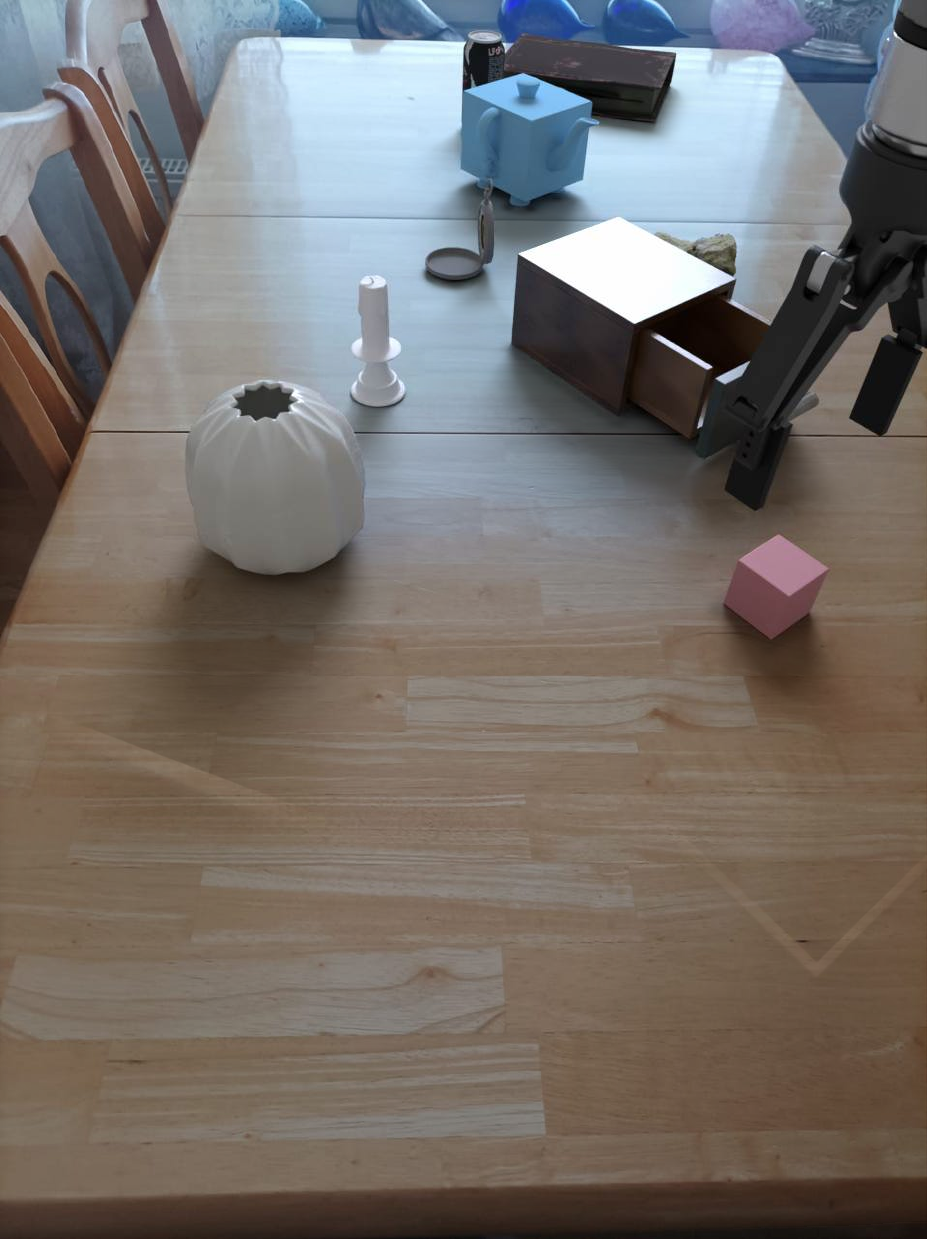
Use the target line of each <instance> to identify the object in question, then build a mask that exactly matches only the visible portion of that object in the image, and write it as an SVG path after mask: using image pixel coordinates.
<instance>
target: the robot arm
mask: <svg viewBox="0 0 927 1239" xmlns="http://www.w3.org/2000/svg"><path fill="white" fill-rule="evenodd" d="M880 54H881V56H882V57H881V61H880V64H879V68H878V71H877V74H876V76H875V79H874V82H873V85H872V89H871V92H870V94H869V98H868V100H867V103H866V106H865V112H866V115H867V117H868V118H869V119H868V120H866V121H865V122H864V123H863V124H861V125H860V126H859V127H858V128H857V130H856V134H855V137H854V140H853V143H852V145H851V149H850V152H849V154H848V157H847V159H846V160H847V161H846V163H845V166H844V170H843V173H842V175H841V179H840V183H839V186H838V192H839V193H838V194H839V198H840V200H841V202H842V204H843V205H844V206H845V207H846V209H847V211H848V213H849V216H850V220H851V221H850V222H851V223H850V225H849V226H848V229H847V230H846V233H845V234H844V236H843V238H842V239H841V241H840V243H839V244H838V246H837V248H836V250H832V251H828V250H826V249H824V248H822V247H820V246H818V245H816V244H814V245H811V246H810V247H809V248H807V250H806V251H805V253H804V255H803V257H802V259H801V262H800V264H799V267H798V270H797V272H796V275H795V278H794V280H793V282H792V286H791V288H790V290H789V291H788V293H787V295H786V297H785V298H784V300H783V302H782V304H781V305H780V307H779V309H778V311H777V313H776V315H775V316H774V318H773V320H771V321H772V323H771V325H770V327H769V329H768V330H767V332H766V334H765V336H764V337H763V339H762V341H761V343H760V344H759V346H758V348H757V350H756V351H755V353H754V355H753V357H752V358H751V360H750V362H749V364H748V366H747V367H746V369H745V371H744V373H743V374H742V376H741V378H740V380H739V381H738V383H737V385H736V387H735V388H734V390H733V392H732V394H731V395H730V397H729V399H728V401H727V403H726V405H725V412H727V413H728V414H730V415H732V416H733V417H734V418H736V419H738V420H739V421H741V422H742V423H744V426H743V429H742V432H741V436H740V439H739V440H738V441H737V446H736V449H735V452H734V454H733V458H732V462H731V464H730V468H729V472H728V475H727V477H726V478H727V479H726V481H725V483H724V488H723V491H725V492H726V493H728V495H731V497H733V498H734V499H736V500H737V501H739V502H740V503H742V504H744V505H745V506H746V507H748V508H749V509H751V510H752V511H754V512H758V511H760V510H761V509H763V508H764V506H765V503H766V500H767V499H768V495H769V492H770V489H771V487H772V484H773V481H774V478H775V476H776V473H777V470H778V467H779V465H780V462H781V459H782V457H783V456H782V455H783V454H784V450H785V448H786V445H787V443H788V440H789V436H790V434H791V431H792V429H793V426H794V425H793V424H794V423H792V422H791V421H789V422H788V421H787V419H788V417H789V416H790V415H791V413H792V412H793V410H794V409H795V408H796V406H797V405H798V404H799V402H800V401H801V400H802V398H803V397H804V396H805V394H807V393H808V392H809V390H810V389H811V387H813V385H814V384H815V382H816V381H817V379H818V378H819V377H820V375H822V373H823V371H824V370H825V369H826V367H827V366H828V364H829V363H830V362H831V360H832V359H833V358H834V356H835V355H836V353H838V351H839V350H840V348H841V347H842V345H843V344H844V343H845V342H846V340H847V339H848V338H849V336H850V335H851V334H852V333H854V332H861V331H862V330H864V329H865V328H866V326H868V324H869V323H870V321H871V320H872V319H873V317H874V316H875V315H876V314H877V312H878V311H879V310H880V308H882V307H883V306H884V305H886V304H887V308H888V314H889V319H890V325H891V329H892V333H894V334H896V337H895V336H893V335H891V334H886V335H884V336H882V337H880V338H881V339H880V341H879V343H878V346H877V347H876V351H875V353H874V355H873V358H872V360H871V363H870V365H869V367H868V370H867V372H866V375H865V376H864V380H863V382H862V384H861V387H860V390H859V391H858V394H857V397H856V399H855V402H854V404H853V407H852V409H851V411H850V414H849V416H848V419H849V420H851V421H853V422H854V423H856V424H858V425H860V426H861V427H863V428H864V429H866V430H868V431H869V432H872V433H873V434H875V435H877V436H878V437H880V438H881V437H882V436H884V435H886V434H888V431H889V429H890V426H891V424H892V423H893V420H894V417H895V415H896V413H897V411H898V409H899V406H900V404H901V402H902V400H903V398H904V395H905V394H906V391H907V389H908V387H909V384H910V382H911V380H912V378H913V376H914V373H915V372H916V369H917V368H918V367H917V366H918V365H919V362H920V361H921V358H922V356H923V354H924V351H922V349H923V348H924V349H925V350H927V0H900V4H899V6H898V8H897V11H896V15H895V18H894V21H893V26H892V29H891V32H890V34H889V37H888V38H887V39H885V41H884V42H883V43H882V46H881V49H880ZM841 301H842V302H844V303H846V304H847V305H845V304H843V303H842V302H841ZM848 305H850V306H852V307H854V308H851V307H849V306H848Z"/></svg>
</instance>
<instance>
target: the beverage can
mask: <svg viewBox="0 0 927 1239" xmlns="http://www.w3.org/2000/svg"><path fill="white" fill-rule="evenodd" d="M467 37H468V38H467V39H466V40H467V41H466V42H465V44H464V46H463V50H462V53H463V54H462V83H461V84H462V86H461V99H462V98H463V91H464V90H468V89H471V88H475V87H478V86H481V85H485V84H488V83H491V82H495V81H498V80H502V79H504V62H505V53H506V48H505V45H504V44H503V40H502V35H501V34H500V33H499V32H496V31H493V30H485V29H484V30H483V29H479V30H474V31H471V32H469V33H468V35H467ZM461 123H462V119H461Z"/></svg>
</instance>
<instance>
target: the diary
mask: <svg viewBox="0 0 927 1239" xmlns="http://www.w3.org/2000/svg"><path fill="white" fill-rule="evenodd" d="M676 58H677V52H673V51H663V50H653V49H652V50H651V49H642V48H641V49H640V48H633V47H626V46H620V45H613V44H608V43H607V44H606V43H601V42H593V41H585V40H584V41H582V40H571V39H570V40H569V39H559V38H554V37H548V36H542V35H536V34H530V33H524V32H522V33H521V34H520V35H519V37H518V38H517V39H516V41H515V42H514V43H513V44H511V46H510V47H509V48H508V49H507V51H505V62H504V79H505V78H509V77H512V76H516V75H519V74H522V73H524V74H526V75H529V76H532V77H535V78H537V79H539V80H541V81H544V82H546V83H549V84H551V85H554V86H556V87H558V88H562V89H564V90H566V91H568V92H571V93H573V94H575V95H578V96H580V97H582V98H585V99H587V100H590V101H591V102H592V110H591V114H594V115H598V116H602V117H606V118H610V119H620V120H621V119H623V120H632V121H645V122H652V123H653V122H654V123H655V122H656V121H657V119H658V117H659V113H660V112H661V108H662V106H663V104H664V102H665V99H666V97H667V94H668V91H669V89H670V87H671V84H672V81H673V76H674V72H675V66H676Z"/></svg>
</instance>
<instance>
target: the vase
mask: <svg viewBox="0 0 927 1239" xmlns="http://www.w3.org/2000/svg"><path fill="white" fill-rule="evenodd" d="M187 435H188V436H187V437H186V440H185V449H184V450H185V451H184V470H185V471H184V473H185V474H184V475H185V482H186V491H187V494H188V498H189V502H190V506H191V507H192V509H193V510H192V511H193V519H194V520H193V521H194V525H195V528H196V533H197V535H198V539H199V540H200V542H201V543H202V545H203V546H204V547H205V548H207V549H209V550H210V551H211V552H214V553H215V554H216V555H218V556H219V557H222V558H223V559H225V560H227V561H229V562H231V563H232V564H233V565H234V566H235V567H236V568H237V569H240V570H244V571H248V572H252V573H256V574H261V575H270V576H277V575H281V574H285V573H286V574H287V573H305V572H308V571H312V570H313V569H316V568H317V567H319V566H321V565H323V564H325V563H326V562H328V561H330V560H332V559H334V558H335V557H336V556H337V555H338V553H339V552H340V551H341V550H343V549H344V548H345V547H346V546H347V545H348V544H349V543H350V542H351V541H352V540H353V539H354V538H355V537H356V536H357V535H358V534H359V533H360V531H361V530H362V529H363V528H364V522H365V517H366V516H365V502H364V498H365V490H366V485H367V484H366V483H367V482H366V470H365V464H364V461H363V457H362V452H361V448H360V446H359V443H358V439H357V436H356V434H355V432H354V430H353V427H352V425H351V424H350V422H349V420H348V419H347V418H346V416H345V414H344V413H343V412H342V411H340V410H338V409H337V408H335V407H334V406H332V405H330V403H329V401H328V399H327V398H326V396H325V395H324V394H323V393H322V392H319V391H317V390H315V389H312V388H310V387H306V386H304V385H301V384H297V383H293V382H288V381H286V380H275V379H269V378H267V379H258V380H253V381H251V382H249V383H241V384H239V385H237V386H235V387H232V388H230V389H227V390H226V391H224V392H223V393H221V394H220V395H217V396H216V397H215V398H214V399H212V400H211V401H209V402H208V404H206V406H205V408H204V412H203V414H202V415H201V416H200V417H199V418H198V419H196V421H195V422H194V423H193V424H192V425H191V426H190V430H189V433H188V434H187Z"/></svg>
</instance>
